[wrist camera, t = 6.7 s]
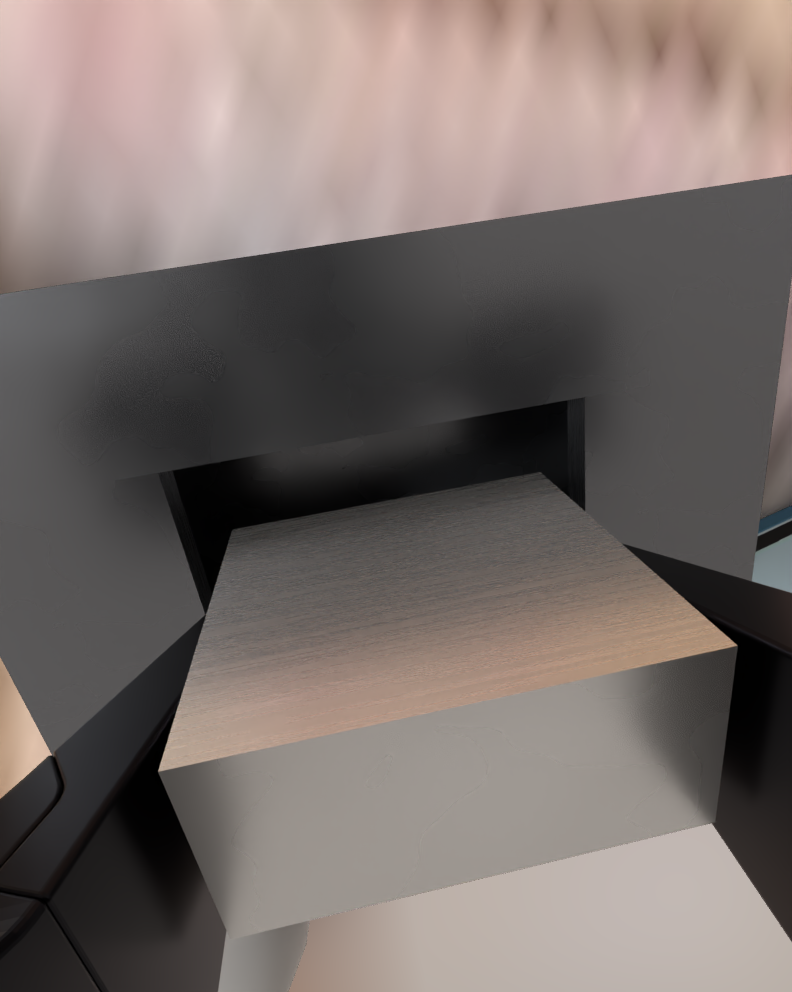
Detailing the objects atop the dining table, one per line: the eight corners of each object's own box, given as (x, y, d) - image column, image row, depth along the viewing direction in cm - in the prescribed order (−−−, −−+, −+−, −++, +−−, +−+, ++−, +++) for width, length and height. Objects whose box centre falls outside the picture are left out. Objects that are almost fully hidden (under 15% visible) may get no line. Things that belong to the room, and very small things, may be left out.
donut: (291, 714, 21) (275, 1052, 12) (328, 772, 23) (338, 1115, 13) (53, 812, 21) (-142, 1220, 12) (104, 863, 23) (-37, 1265, 14)
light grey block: (266, 646, 10) (230, 939, 6) (232, 529, 9) (157, 772, 5) (544, 589, 11) (714, 822, 6) (540, 472, 10) (737, 646, 5)
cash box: (162, 633, 19) (85, 818, 13) (36, 299, 15) (-178, 321, 8) (603, 545, 20) (739, 673, 14) (606, 212, 16) (804, 172, 10)
